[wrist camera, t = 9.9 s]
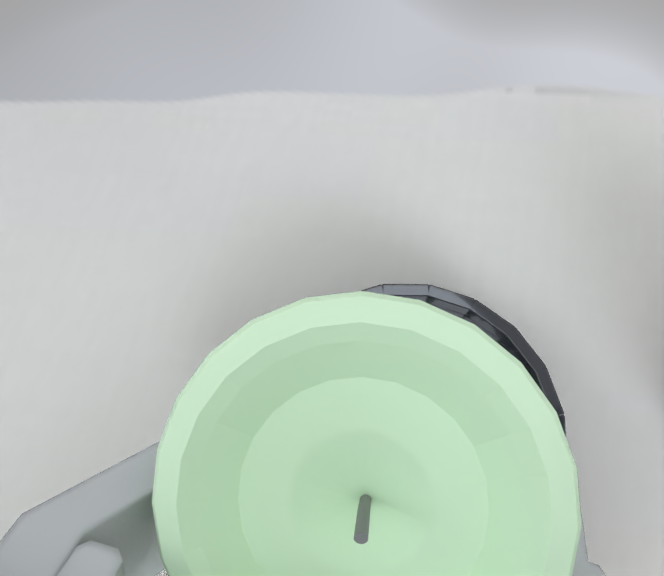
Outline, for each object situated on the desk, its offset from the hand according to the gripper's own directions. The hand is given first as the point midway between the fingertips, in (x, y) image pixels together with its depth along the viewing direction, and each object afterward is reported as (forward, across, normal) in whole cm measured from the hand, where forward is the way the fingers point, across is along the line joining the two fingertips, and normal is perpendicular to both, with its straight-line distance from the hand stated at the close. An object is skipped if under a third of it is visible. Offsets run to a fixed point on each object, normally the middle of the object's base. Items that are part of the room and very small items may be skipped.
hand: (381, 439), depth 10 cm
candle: (+3, 0, +4) cm, 5 cm away
